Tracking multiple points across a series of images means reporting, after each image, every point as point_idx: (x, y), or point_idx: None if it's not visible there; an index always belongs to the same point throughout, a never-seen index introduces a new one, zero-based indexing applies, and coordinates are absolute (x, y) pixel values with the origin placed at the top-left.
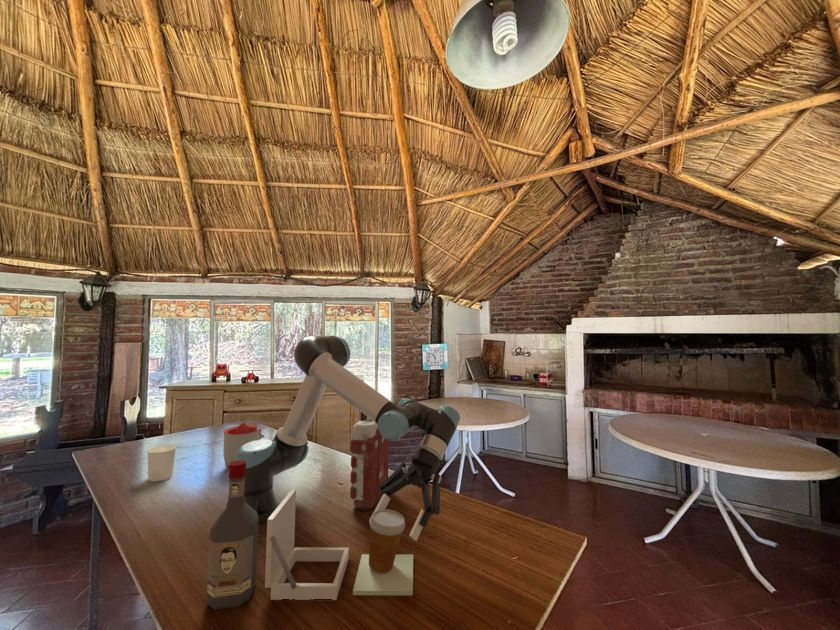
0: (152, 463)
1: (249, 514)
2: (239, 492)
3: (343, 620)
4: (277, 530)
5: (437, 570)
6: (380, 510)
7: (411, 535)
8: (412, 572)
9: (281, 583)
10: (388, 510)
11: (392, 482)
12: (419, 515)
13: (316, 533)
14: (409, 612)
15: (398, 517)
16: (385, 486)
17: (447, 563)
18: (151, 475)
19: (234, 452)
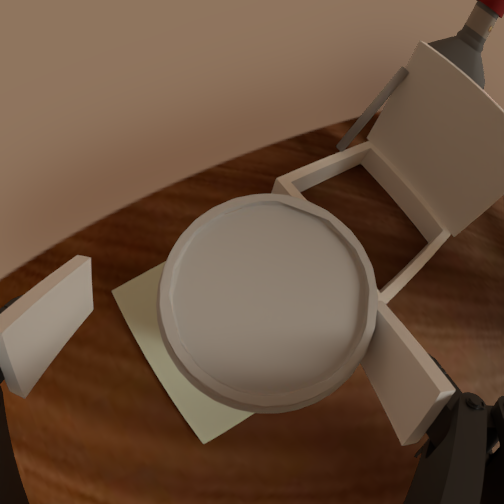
0: None
1: (451, 51)
2: (468, 19)
3: (216, 169)
4: (428, 89)
5: (103, 424)
6: (366, 321)
7: (77, 256)
8: (150, 361)
9: (364, 149)
10: (336, 370)
11: (488, 497)
12: (22, 307)
13: (479, 337)
14: (100, 245)
15: (233, 364)
16: (494, 455)
17: (97, 465)
18: None
19: None
